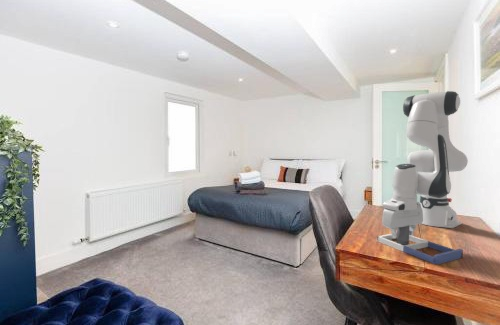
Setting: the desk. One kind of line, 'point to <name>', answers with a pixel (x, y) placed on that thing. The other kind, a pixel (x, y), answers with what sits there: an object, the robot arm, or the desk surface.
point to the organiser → (421, 243)
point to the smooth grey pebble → (403, 235)
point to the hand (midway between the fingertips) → (402, 236)
